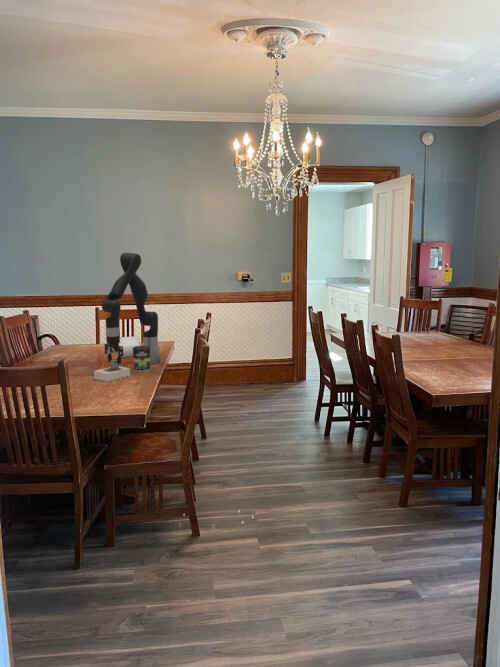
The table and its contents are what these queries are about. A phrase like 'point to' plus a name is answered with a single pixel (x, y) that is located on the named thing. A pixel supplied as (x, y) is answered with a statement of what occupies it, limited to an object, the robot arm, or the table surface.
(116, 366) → the grey rectangular block
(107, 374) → the well block
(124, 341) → the wavy white extrusion
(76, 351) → the table surface
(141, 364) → the coffee can
